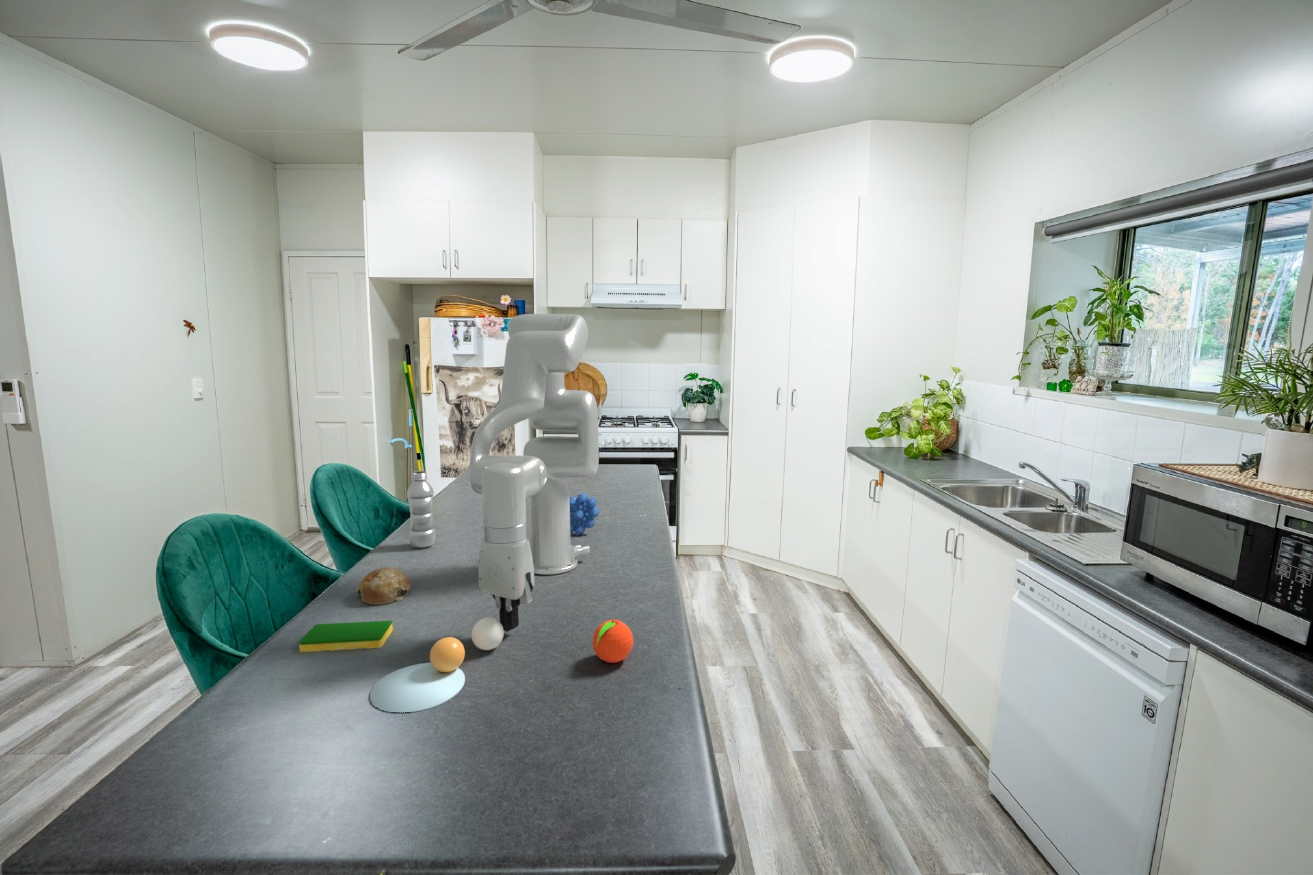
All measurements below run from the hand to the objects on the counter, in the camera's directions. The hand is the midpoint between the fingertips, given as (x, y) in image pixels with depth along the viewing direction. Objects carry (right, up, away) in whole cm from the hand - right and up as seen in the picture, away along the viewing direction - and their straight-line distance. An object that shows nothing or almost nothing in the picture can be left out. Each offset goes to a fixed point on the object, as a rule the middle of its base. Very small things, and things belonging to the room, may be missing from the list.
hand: (509, 627), depth 114 cm
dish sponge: (-29, -3, -1) cm, 29 cm away
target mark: (-10, -4, -17) cm, 20 cm away
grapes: (+5, +8, +60) cm, 61 cm away
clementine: (+19, -3, -9) cm, 22 cm away
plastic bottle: (-35, +6, +50) cm, 61 cm away
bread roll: (-31, +1, +18) cm, 36 cm away
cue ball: (-3, 0, -5) cm, 6 cm away
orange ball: (-7, -1, -12) cm, 14 cm away
